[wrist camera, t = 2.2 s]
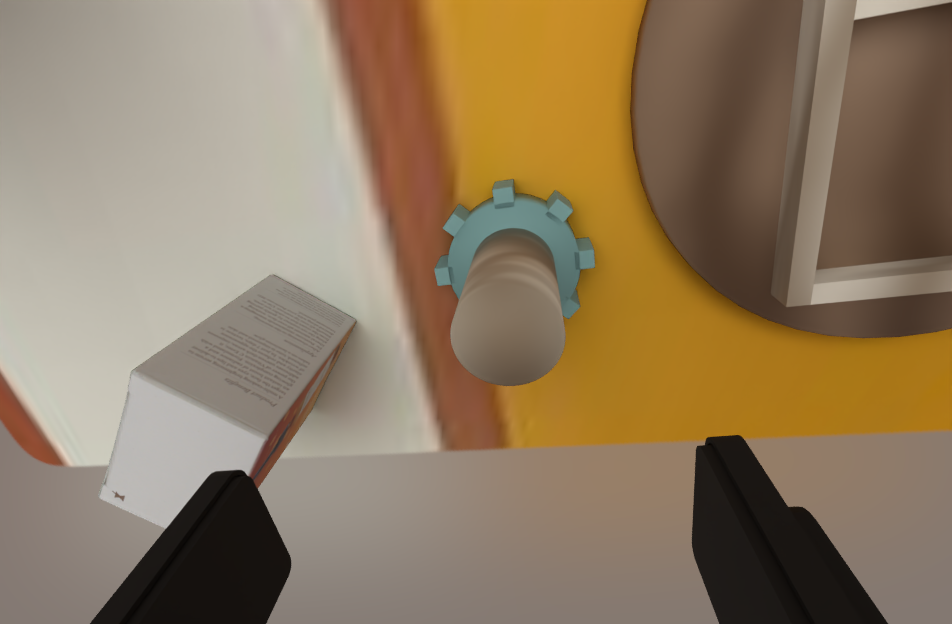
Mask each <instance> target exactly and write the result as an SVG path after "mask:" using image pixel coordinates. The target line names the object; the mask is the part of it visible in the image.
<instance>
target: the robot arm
mask: <svg viewBox="0 0 952 624" xmlns="http://www.w3.org/2000/svg"><path fill="white" fill-rule="evenodd" d="M692 548H693V553H694V557H695V560H696V563H697V565H698V568H699V571H700V574H701V576H702V579H703V581H704V584H705V587H706V589H707V592H708V595H709V597H710V600H711V603H712V605H713V608H714V610H715V613H716V616H717V619H718V621H719V624H888V623H887V622H886V620H885V619H884V617H883V616H882V614H881V613H880V611H879V610H878V609H877V607H876V606H875V604H874V603H873V601H872V600H871V598H870V597H869V596H868V594H867V593H866V591H865V590H864V588H863V587H862V586H861V584H860V583H859V581H858V580H857V578H856V577H855V576H854V574H853V573H852V571H851V570H850V568H849V567H848V565H847V564H846V562H845V561H844V560H843V558H842V557H841V555H840V554H839V552H838V551H837V550H836V548H835V547H834V545H833V544H832V542H831V541H830V539H829V538H828V537H827V535H826V534H825V532H824V531H823V529H822V528H821V526H820V525H819V524H818V522H817V521H816V519H815V518H814V517H813V516H812V515H811V513H810V512H809V511H807V510H806V509H805V508H803V507H788V506H787V505H786V503H785V502H784V500H783V499H782V497H781V496H780V494H779V492H778V491H777V489H776V488H775V486H774V485H773V483H772V482H771V480H770V479H769V477H768V475H767V474H766V472H765V471H764V469H763V468H762V466H761V465H760V463H759V462H758V460H757V458H756V457H755V455H754V454H753V452H752V451H751V449H750V448H749V446H748V445H747V443H746V441H745V440H744V439H743V438H742V437H741V436H740V435H733V436H719V437H708V438H707V439H706V442H705V445H703V446H697V448H696V462H695V484H694V505H693V527H692ZM290 570H291V558H290V555H289V553H288V551H287V549H286V547H285V545H284V543H283V541H282V538H281V537H280V534H279V532H278V530H277V528H276V526H275V524H274V522H273V520H272V518H271V516H270V514H269V512H268V509H267V507H266V505H265V503H264V501H263V499H262V497H261V495H260V493H259V491H258V489H257V487H256V485H255V483H254V480H253V479H252V478H251V477H250V476H247V474H246V473H245V472H244V471H243V470H227V471H215V472H213V473H211V474H210V475H209V476H208V477H207V478H206V480H205V481H204V482H203V483H202V485H201V486H200V487H199V488H198V490H197V491H196V492H195V493H194V495H193V496H192V497H191V498H190V500H189V501H188V502H187V503H186V505H185V506H184V507H183V508H182V510H181V511H180V512H179V513H178V515H177V516H176V517H175V518H174V519H173V521H172V522H171V523H170V524H169V526H168V527H167V528H166V529H165V531H164V532H163V533H162V534H161V536H160V537H159V538H158V539H157V541H156V542H155V543H154V544H153V546H152V547H151V548H150V549H149V551H148V552H147V553H146V554H145V556H144V557H143V558H142V560H141V561H140V562H139V563H138V564H137V566H136V567H135V568H134V570H133V571H132V572H131V573H130V574H129V576H128V577H127V578H126V579H125V581H124V582H123V583H122V584H121V586H120V587H119V588H118V589H117V591H116V592H115V593H114V594H113V596H112V597H111V598H110V599H109V601H108V602H107V603H106V604H105V606H104V607H103V608H102V609H101V610H100V612H99V613H98V614H97V615H96V617H95V618H94V619H93V620H92V622H91V623H90V624H266V623H267V620H268V618H269V616H270V614H271V612H272V610H273V608H274V606H275V604H276V602H277V599H278V597H279V595H280V593H281V591H282V589H283V587H284V585H285V582H286V580H287V578H288V576H289V573H290Z"/></svg>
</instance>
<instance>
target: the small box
mask: <svg viewBox="0 0 952 624" xmlns="http://www.w3.org/2000/svg"><path fill="white" fill-rule="evenodd" d="M355 323H356V320H355V319H353V318H352V317H350V316H348V315H346V314H344V313H342V312H340V311H339V310H337V309H335V308H333V307H331V306H330V305H328V304H326V303H324V302H322V301H320V300H319V299H317V298H315V297H313V296H311V295H309V294H308V293H306V292H304V291H302V290H300V289H298V288H296V287H295V286H293V285H291V284H289V283H287V282H285V281H284V280H282V279H280V278H278V277H276V276H275V275H269V276H268V277H267V278H265V279H264V280H262V281H261V282H259V283H258V284H256V285H255V286H253V287H252V288H251V289H249V290H248V291H246V292H245V293H243V294H242V295H241V296H239V297H238V298H236V299H235V300H233V301H232V302H230V303H229V304H227V305H226V306H224V307H223V308H222V309H220V310H219V311H217V312H216V313H214V314H213V315H211V316H210V317H209V318H207V319H206V320H204V321H203V322H201V323H200V324H198V325H197V326H195V327H194V328H193V329H191V330H190V331H188V332H187V333H185V334H184V335H183V336H181V337H180V338H178V339H177V340H175V341H174V342H172V343H171V344H169V345H168V346H167V347H165V348H164V349H162V350H161V351H159V352H158V353H156V354H155V355H153V356H152V357H151V358H149V359H148V360H146V361H145V362H144V363H142V364H141V365H139V366H138V367H136V368H135V369H133V370H132V371H131V374H130V381H129V385H128V392H127V397H126V401H125V405H124V409H123V413H122V417H121V421H120V425H119V429H118V432H117V436H116V440H115V444H114V448H113V451H112V455H111V459H110V462H109V466H108V469H107V473H106V476H105V479H104V481H103V484H102V486H101V489H100V492H99V495H98V496H99V498H100V499H102V500H104V501H106V502H108V503H110V504H113V505H115V506H117V507H119V508H121V509H123V510H126V511H128V512H130V513H132V514H134V515H136V516H139V517H141V518H143V519H146V520H148V521H150V522H153V523H154V524H157V525H159V526H161V527H163V528H165V529H166V528H167V527H168V526H169V524H170V523H171V522H172V521H173V519H174V518H175V517H176V516H177V515H178V513H179V512H180V511H181V510H182V508H183V507H184V506H185V505H186V503H187V502H188V501H189V500H190V498H191V497H192V496H193V495H194V493H195V492H196V491H197V490H198V488H199V487H200V486H201V485H202V483H203V482H204V481H205V480H206V478H207V477H208V476H209V475H210V474H211V473H213V472H215V471H227V470H243V471H244V472H245V473H246V474H247V476H250V477H251V478H252V479H253V480H254V483H255V485H256V487H257V489H258V487H259V486H260V485H261V483H262V482H263V480H264V479H265V477H266V476H267V474H268V473H269V472H270V470H271V469H272V467H273V466H274V464H275V463H276V461H277V460H278V458H279V457H280V456H281V454H282V453H283V451H284V450H285V448H286V447H287V445H288V444H289V443H290V441H291V440H292V438H293V437H294V435H295V434H296V432H297V431H298V430H299V428H300V427H301V425H302V424H303V422H304V421H305V419H306V418H307V416H308V415H309V413H310V412H311V410H312V408H313V406H314V404H315V402H316V400H317V397H318V395H319V393H320V391H321V389H322V387H323V385H324V383H325V381H326V379H327V377H328V375H329V373H330V371H331V370H332V368H333V366H334V364H335V362H336V360H337V358H338V356H339V354H340V353H341V351H342V349H343V347H344V345H345V343H346V341H347V339H348V337H349V335H350V333H351V331H352V329H353V327H354V326H355Z"/></svg>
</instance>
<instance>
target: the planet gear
mask: <svg viewBox="0 0 952 624" xmlns="http://www.w3.org/2000/svg"><path fill="white" fill-rule="evenodd" d="M492 191H493V197H492V198H490V199H488V200H486V201H484V202H482V203H481V204H479V205H478V206H476V207H475V208H474V209H473V210H472V211H471V212H470V211H468V210H467V209H465V208H464V207H463V206H461V205H460V204H459V205H458V206H457V208H456V209H455V210H454V212H453V213H452V215H451V216H450V217H449V219H448V221H447V222H446V224H445V226H444V227H443V229H444V230H446V231H447V232H448V233H450V234H451V235H452V236H454V239H453V241H452V244H451V247H450V250H449V255H445V256H441V257H440V259H439V261H438V263H437V265H436V267H435V269H434V270H435V274H436V279H437V284H438V286H441V285H449V284H451V285H452V287H453V290H454V292H455V294H456V295H457V297H458V299H459V303H458V306H457V309H456V312H455V315H454V318H453V321H452V324H451V334H450V337H451V344H452V347H453V350H454V353H455V355H456V357H457V358H458V360H459V362H460V363H461V364H462V365H463V367H465V368H466V369H467V370H468V371H469V372H470V373H471V374H473V375H474V376H476V377H478V378H479V379H481V380H484V381H486V382H489V383H492V384H496V385H503V386H516V385H523V384H527V383H530V382H533V381H535V380H537V379H539V378H541V377H542V376H544V375H545V374H547V373H548V372H549V371H550V370H551V369H552V368H553V367H554V366H555V365H556V364H557V362H558V360H559V359H560V357H561V355H562V353H563V349H564V346H565V328H564V321H563V316H565V317H566V318H567V319H569V318H570V317H571V316H572V315H573V314H574V313H575V312H576V311H577V310H578V309H579V308H580V303H579V299H578V295H577V291H576V290H575V288H576V286H577V283H578V279H579V275H580V269H588V268H595V260H594V249H593V246H592V244H591V241H590V239H589V237H588V238H580V239H575V237H574V233H573V231H572V229H571V226H570V224H569V223H568V221H567V220H566V219H567V218H568V216H569V215H570V214H571V213H572V212H573V209H572V206H571V204H570V201H569V200H568V199H566V198H565V197H564V196H562V195H561V194H560V193H559V192H557V191H556V190H555V191H554V192H553V194H552V195H551V196H550V197H549V199H548V200H547V201H545V200H543V199H541V198H538V197H535V196H532V195H528V194H521V193H515V188H514V180H513V179H511V180H504V181H497V182H495V184H494V186H493V189H492Z"/></svg>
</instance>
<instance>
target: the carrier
mask: <svg viewBox="0 0 952 624" xmlns="http://www.w3.org/2000/svg"><path fill="white" fill-rule="evenodd" d="M630 114H631V126H632V137H633V148H634V153H635V157H636V162H637V166H638V171H639V175H640V180H641V183H642V185H643V188H644V191H645V193H646V196H647V199H648V201H649V204H650V206H651V209H652V211H653V213H654V215H655V217H656V218H657V220H658V222H659V224H660V225H661V227H662V229H663V231H664V233H665V234H666V236H667V237H668V239H669V240H670V241H671V243H672V244H673V245H674V246H675V248H676V249H677V250H678V251H679V253H680V254H681V255H682V256H683V258H684V259H685V260H686V261H687V262H688V263H689V264H690V266H691V267H692V268H693V269H694V270H695V271H696V272H697V273H698V274H699V275H701V276H702V277H703V278H704V279H705V280H706V281H707V282H708V283H709V284H710V285H711V286H712V287H713V288H715V289H716V290H717V291H718V292H720V293H721V294H723V295H724V296H726V297H727V298H729V299H730V300H732V301H733V302H735V303H736V304H738V305H739V306H740V307H743V308H745V309H747V310H749V311H751V312H753V313H755V314H757V315H759V316H761V317H763V318H765V319H767V320H770V321H773V322H776V323H779V324H782V325H785V326H788V327H791V328H794V329H798V330H803V331H808V332H813V333H818V334H824V335H829V336H842V337H856V338H879V337H901V336H909V335H916V334H924V333H931V332H937V331H942V330H946V329H951V328H952V0H647V3H646V6H645V10H644V14H643V17H642V21H641V24H640V28H639V32H638V38H637V45H636V51H635V57H634V63H633V70H632V84H631V108H630Z"/></svg>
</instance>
